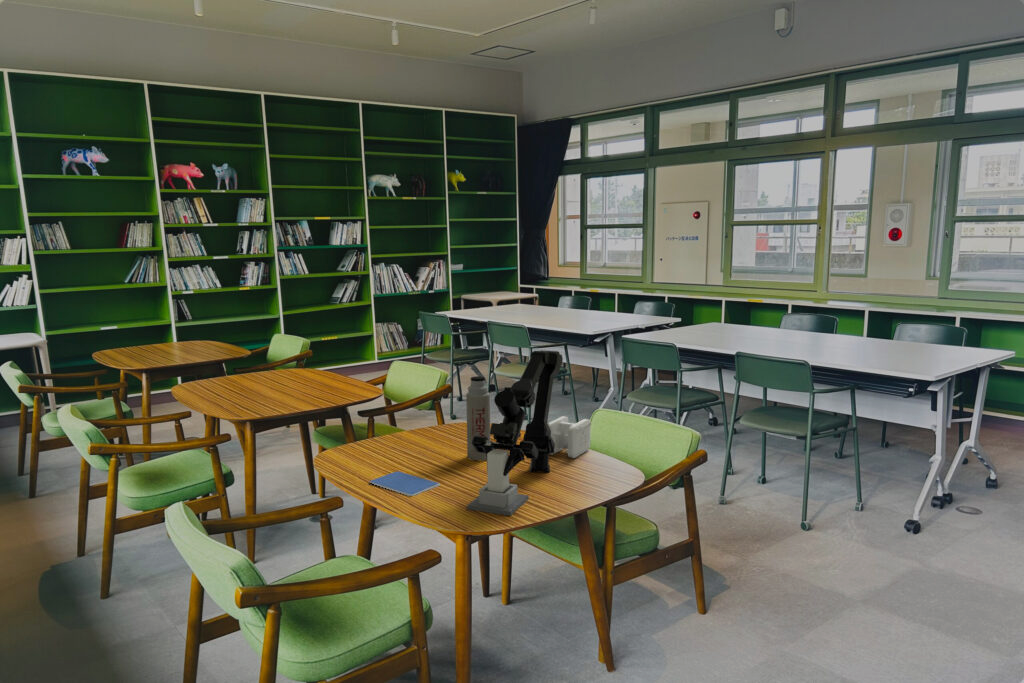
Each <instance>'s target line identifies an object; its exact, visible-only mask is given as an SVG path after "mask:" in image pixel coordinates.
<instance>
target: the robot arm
mask: <svg viewBox="0 0 1024 683" xmlns="http://www.w3.org/2000/svg"><path fill="white" fill-rule="evenodd" d="M562 365H563V355H562V354H560V351H557V350H542V349H540V350H534V351H531V353H530V359H529V361H528V363H527V365H526V367H525V369H524V371H523V374H522V375H521V377H520V379H519V380H518V381H516V382H515V383H513V384H512V385H511V387H504V388H503V390H500V391H499V392H498V393H496V395H495V397H494V399H493V402H494V403H495V406H496V407H497V409H498V411H499V413H500V414H501V415H502V416H503V419H502V422H499V423H496V422H494V423H493V422H492V423H490V436H491V435H492V438H493V439H494V440H495V441H492V440H491V441H489V439H488V438H487V437H486V436H477V435H476V436H474V437H473V439H472V442H471V443H472V445H473V446H474V448H475V449H476V451H477V452H479V453H486V456H487V453H489V452H490V451H492V450H493V449H497V450H505V451H509V458H508V460H507V463H506V466H505V469H504V473H503V475H504V476H506V475H507V474H508V473H509V474H510V472H511V470H513V469H514V468H515V467H516V466H518V464H519V463H520V462H522V461H525V460H526V459H528V460H530V464H529V473H551V466H550V464H549V461H550V458H549V456H550V453H554V449H555V443H554V441H553V439H552V437H551V430H550V428H549V425H548V423H549V422H548V421H549V415H550V414H549V412H550V405H551V398H552V390H553V385H554V379H555V377H557V376H558V374H559V373H560V371H561V366H562ZM536 385H537V388H536V389H537V390H536V394H535V391H534V390H535V387H536ZM533 404H534V410H533V415H532V416H533V417H532V420H531V421H530V423H526V425H525V432H524V435H523V440H521V441H520V442H519V444H518V440H519V438H521V436H522V433H521V430H522V427H523V424H524V421H526V420H527V415H526V412H525V410H524V409H523V408H525V409H528V408H531V407H532V406H533Z"/></svg>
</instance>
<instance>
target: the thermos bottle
mask: <svg viewBox="0 0 1024 683" xmlns="http://www.w3.org/2000/svg"><path fill="white" fill-rule="evenodd" d="M467 390H468V391H467V393H465V394H466V396H465V398H466V400H465V401H466V405H465V406H466V444H467V445H466V446H467V448H466V450H467V451H466V452H467V454H466V455H467V457H468V458H469V459H471V460H470V461H473V460H477V461H476V462H479V461H478V460H484V461H487V456H486V453H479V452H477V451H476V449H475V448H474V446H473V445H472V443H471V442H472V439H473V437H474V436H476V435H477V436H486V437H487V438H488V439H489V441H492V440H491V435H490V430H491V394H490V392H489V387H488V386H487V385H486V377H484V376H480V375H479V376H471V377H470V386H468V388H467ZM467 457H466V458H467ZM468 458H467V459H468ZM469 459H468V460H469Z"/></svg>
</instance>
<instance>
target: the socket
mask: <svg viewBox="0 0 1024 683" xmlns="http://www.w3.org/2000/svg"><path fill="white" fill-rule="evenodd" d="M518 491H519V488H518V484H515V483H514V484H513V483H509V490H508V491H507V492H506V493H505V494H503V493H497V492H490V491H488V482H487V483H486V484H485V485H483V486H482V487H480V488H479V490H478V496H477V497H475V499H473V500H471V502H469V503H467V505H466V506H467V507H466V509H467V510H469V511H470V510H471V511H476V510H477V512H482V511H483V513H488V512H489V513H488V514H494V513H496V514H495V515H500V514H503V515H502V516H506V515H511V516H513V515H514V514H515V513H516V512H517V511H518V510H519V509H520V508H521V507H523V506H524V504H525V502H526V501H527V500H528V499H529V500H530V495H527V494H521V493H518ZM529 500H528V501H529ZM528 501H527V502H528ZM527 502H526V503H527ZM520 506H521V507H520ZM519 507H520V508H519ZM518 508H519V509H518ZM517 509H518V510H517ZM516 510H517V511H516ZM515 511H516V512H515ZM514 512H515V513H514ZM513 513H514V514H513ZM512 514H513V515H512Z"/></svg>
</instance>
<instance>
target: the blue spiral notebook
mask: <svg viewBox="0 0 1024 683" xmlns="http://www.w3.org/2000/svg"><path fill="white" fill-rule="evenodd" d="M369 482H370V483H372V484H374V485H373V486H375V485H377V486H376V487H378V486H380V487H379V488H382V487H383V488H382V489H385V488H386V489H385V490H388V489H389V490H388V491H391V490H392V491H391V492H394V491H395V492H394V493H397V494H400V493H401V494H400V495H403V494H404V495H403V496H406V495H407V497H409V496H414V497H416V496H419V495H421V494H423V493H422V492H424V493H426V492H428V490H429V491H431V490H434V489H436V488H438V487H440V486H441V484H440V482H436V481H435V480H434V481H433V480H430V479H426V478H422V477H419V476H415V475H413V474H408V473H406V472H403V471H399V470H398V471H394V472H391V473H388V474H385V475H383V476H380V477H377V478H374V479H371V480H369V481H368V483H369ZM372 484H371V485H372ZM425 491H426V492H425ZM420 493H421V494H420ZM418 494H419V495H418ZM415 495H416V496H415Z"/></svg>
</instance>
